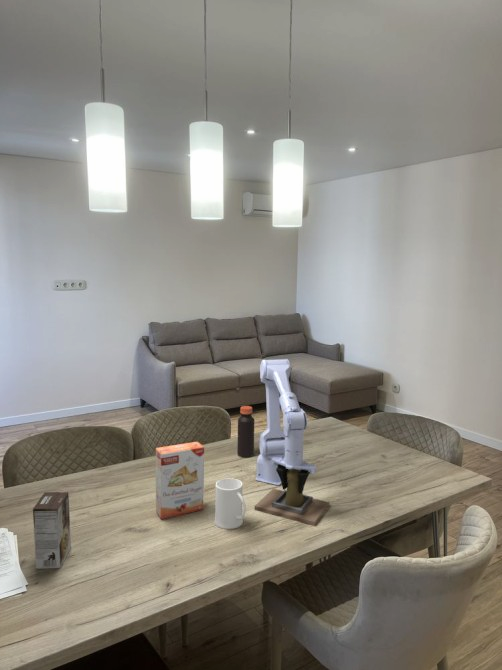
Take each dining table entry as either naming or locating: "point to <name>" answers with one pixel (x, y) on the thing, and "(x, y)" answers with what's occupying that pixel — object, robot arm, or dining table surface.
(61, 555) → the coffee box
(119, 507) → the dining table surface
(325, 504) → the wooden socket base
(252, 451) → the bottle
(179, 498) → the cracker box
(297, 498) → the cork
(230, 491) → the mug
